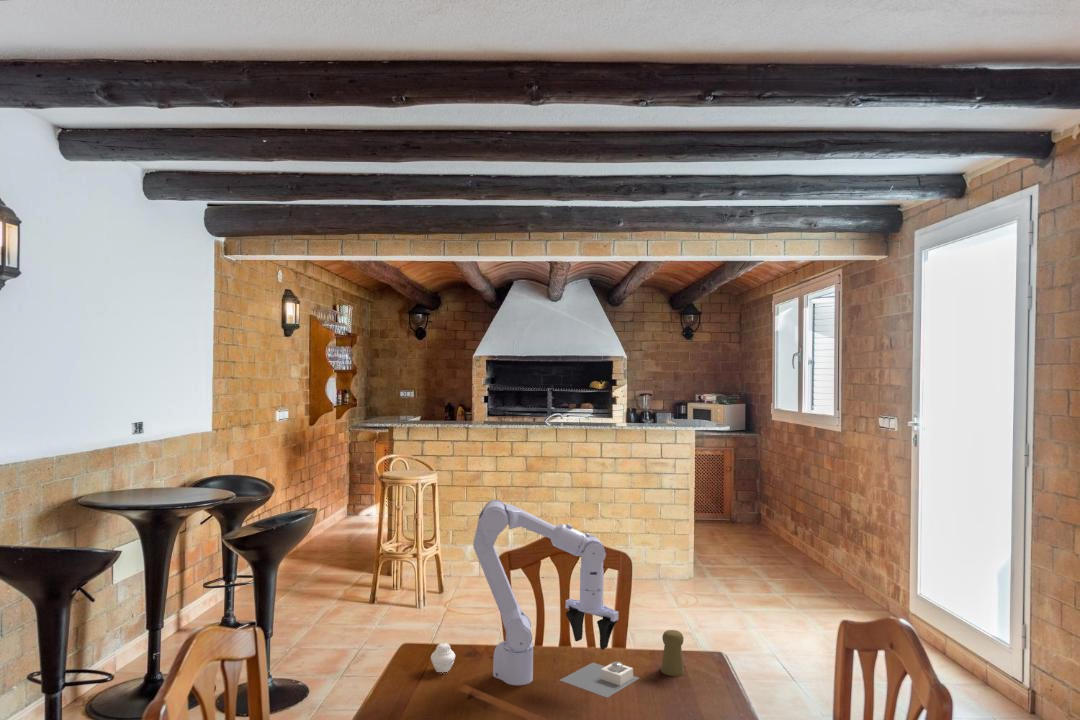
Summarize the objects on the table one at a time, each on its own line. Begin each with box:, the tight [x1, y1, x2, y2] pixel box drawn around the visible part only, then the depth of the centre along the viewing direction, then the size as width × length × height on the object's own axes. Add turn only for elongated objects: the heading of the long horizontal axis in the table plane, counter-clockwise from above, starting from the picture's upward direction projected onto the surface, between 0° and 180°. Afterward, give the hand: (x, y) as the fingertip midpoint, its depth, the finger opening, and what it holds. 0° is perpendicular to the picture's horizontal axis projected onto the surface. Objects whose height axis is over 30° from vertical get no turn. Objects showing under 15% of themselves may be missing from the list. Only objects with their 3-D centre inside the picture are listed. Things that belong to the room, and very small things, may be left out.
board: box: [559, 662, 640, 698], centre depth 171 cm, size 14×14×1 cm
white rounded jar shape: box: [430, 642, 456, 674], centre depth 177 cm, size 6×6×7 cm
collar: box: [601, 662, 634, 686], centre depth 171 cm, size 6×6×2 cm
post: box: [611, 661, 624, 673], centre depth 171 cm, size 3×3×4 cm
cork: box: [660, 629, 685, 677], centre depth 176 cm, size 6×6×11 cm
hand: (591, 644), depth 172 cm, fingers open, 7 cm apart
